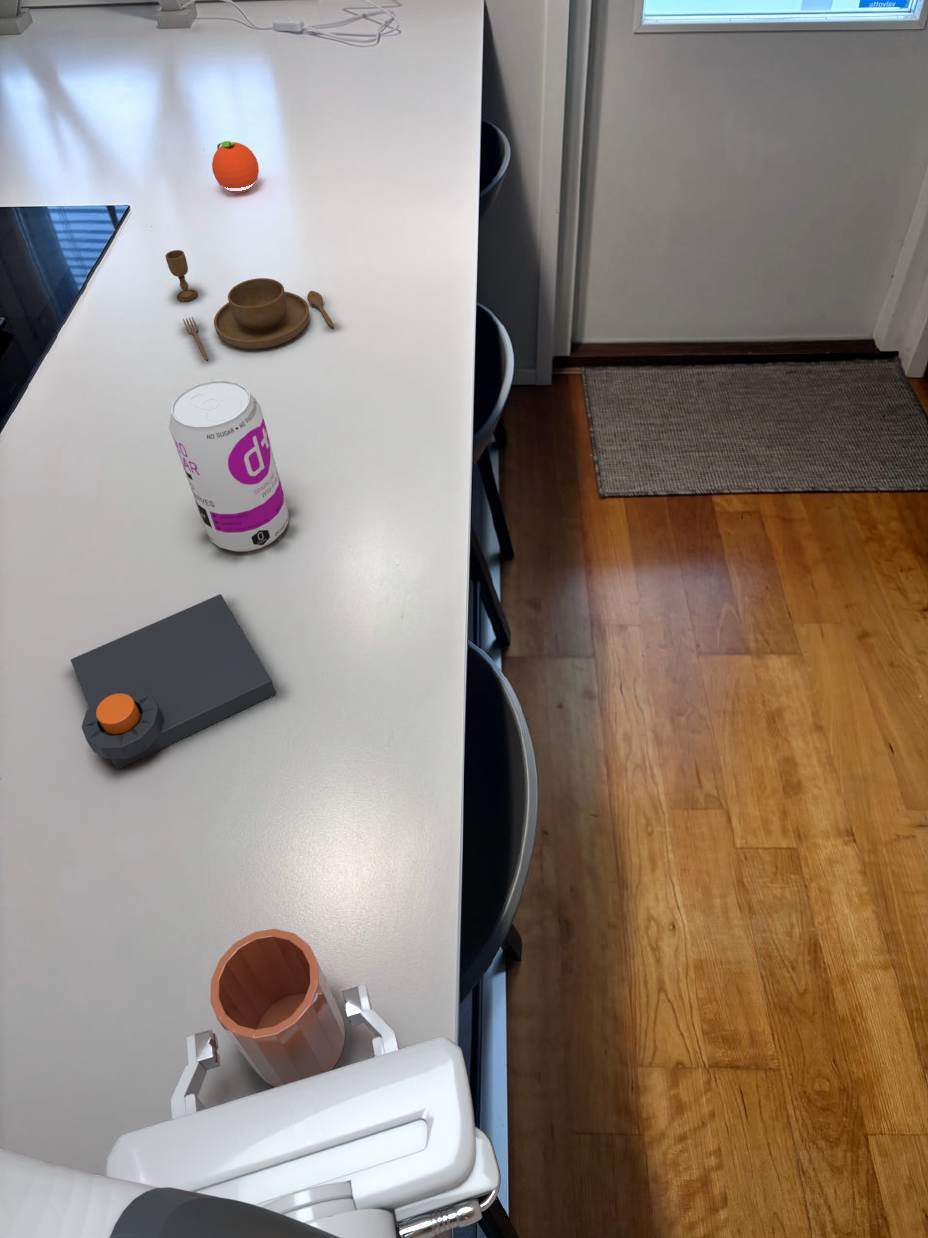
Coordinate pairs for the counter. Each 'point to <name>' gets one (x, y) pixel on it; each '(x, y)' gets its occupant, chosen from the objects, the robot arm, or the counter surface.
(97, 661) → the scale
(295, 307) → the place setting
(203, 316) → the counter surface
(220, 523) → the supplement can
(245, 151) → the clementine
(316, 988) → the cup
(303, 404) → the counter surface
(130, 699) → the button
